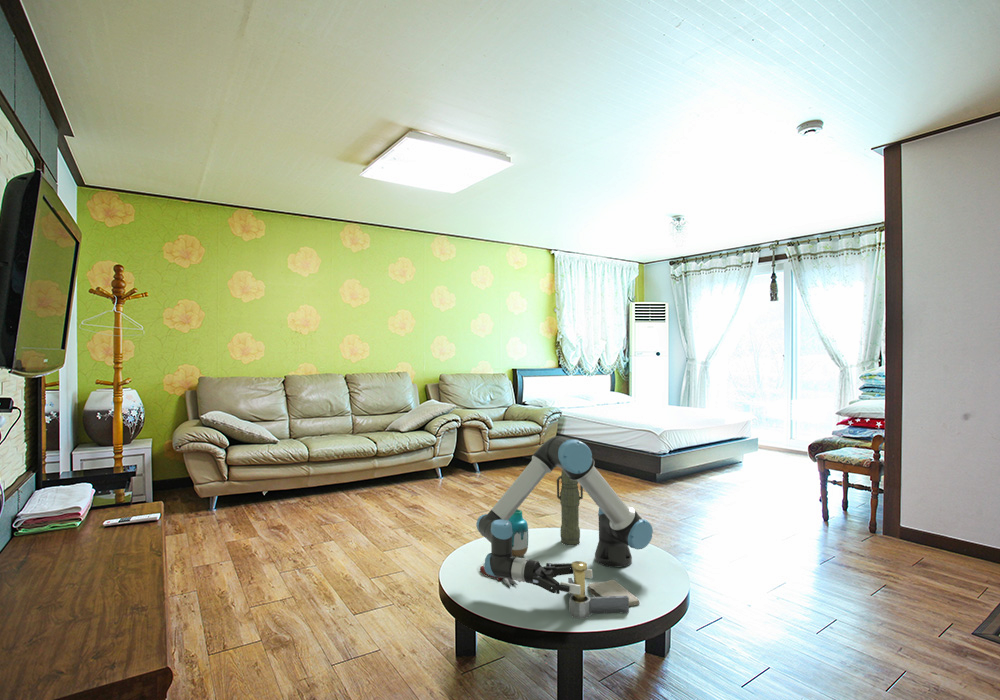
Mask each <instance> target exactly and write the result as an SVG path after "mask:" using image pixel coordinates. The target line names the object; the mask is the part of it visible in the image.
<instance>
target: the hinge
mask: <svg viewBox="0 0 1000 700" xmlns="http://www.w3.org/2000/svg"><path fill="white" fill-rule="evenodd" d="M567 580H568V581H567V583H571V584H574V579H573V578H572V577H568V579H567ZM568 594H569V595H570V596H569V598H568V602H569V603H568V607H569V608H568V611H569V612H568V613H569V615H570V616H571V617H572V616H573V618H574V617H575V619H579V620H582V619H587V618H590V617H591V615H598V614H621V613H620V612H623V613H627V612H628V613H630V606H629V597H628V596H605V597H595V596H588V595H587V594H585V602H577V601H574V594H573V593H568ZM623 613H622V614H623Z"/></svg>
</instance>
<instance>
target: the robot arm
mask: <svg viewBox="0 0 1000 700" xmlns="http://www.w3.org/2000/svg"><path fill="white" fill-rule="evenodd" d="M592 453H593V452H592V450H591V449H590V447H589V446H588V445H587V444H586V443H585V442H582V441H580V440H579V439H572V438H570V437H565V436H562V435H556V436H553V437H550V438H549V439H547V440H546V441H544V443H542V444H541V445H540V447H539V448H537V449H536V450H535V452H534V453H533V454H532V456H531V461H530V462H529V463H528V465H526V467H525V468H524V469H523V471H522V472H521V473H520V474H519V476H518V477H517V478H515V480H514V481H513V483H512V484H511V485H509V486H510V487H508V488H507V490H506V491H505V492H504V494H503V495H502V496H501V498H500V499H499V500H498V501H497V502H496V503H495V505H494V506H493V507H492V508H491V509H490V510H489V512H488V513H485V514H481V515H480V516H478V518H477V521H476V529H477V531H478V533H480V535H481V536H482V537H484V538H485V539H486V540H487V541H488V542H490V544H491V545H490V546H491V549H490V550H491V552H489V553H487V555H485V558H484V564H483V567H484V569H485V572H486V573H487V574H488V575H491V576H495V577H498V578H499V577H500V578H506V579H511V580H514V581H515V582H516V581H517V583H521V582H523V583H527V584H531V585H533V586H538V587H540V588H541V589H544V590H546V591H548V592H550V593H551V594H556V595H559V594H560V592H564V593H568V594H569V593H573V594H578V595H580V594H581V591H580V585H576V584H571V583H568V582H565V581H560V582H559V581H557V579H555V578H557V577H558V576H566V575H567V576H568V575H573V576H574V570H573V569H572V562H571V563H567V562H566V563H565V562H564V563H550V562H546V563H545V566H542V565H541V563H540V561H538V560H535V559H528V558H523V557H513V556H512V534H513V531H512V524H511V522H510V521H508V520H509V518H510V517H511V516H512V515H513V514H514V512H515V511H516V510H517V509H518V510H519V508H520V506H521V505H522V504H523V503H524V501H525V500H526V499H527V498H528V497H529V496H530V494H531V493H532V491H534V489H535V488H536V487H537V485H538V484H539V483H540V482H541V481H542V479H543V478H544V477H545V475H547V474H549V473H551V472H552V471H553V470H554V469H555V468H557V467H558V468H560V469H561V471H562V470H563V471H564V472H565V473H566V474H567V476H568V477H569V478H570V479H571V480H577V481H578V484H579V485H581V486H582V487H583V490H584V491H585V492H586V493H587V495H588V496H589V497H590V498H591V499H592V501H593V502H594V503H595V504H596V505H597V506H598V514H597V516H598V542H597V545H596V550H595V552H594V560H595V562H596V563H597V564H599V565H602V566H605V567H609V566H610V568H611V567H613V568H622V567H627V566H629V565H631V564H632V563H633V559H632V558H633V557H632V553H631V550H630V548H632V549H633V550H643V549H644V548H646V547H648V545H649V544H650V543H651V541H652V539H653V533H654V530H653V526H652V524H651V523H650V522H649V521H648V520H647V519H645V518H642V517H641V516H640V514H638V512H637V511H636V510H635V508H634V507H633V506H631V505H626V504H625V503H624V501H623V500H622V498H621V497H620V496H619V495H618V494H617V492H616V491H615V490H614V489H613V488H612V486H611V485H610V484H609V482H608V481H607V480H606V479H605V478H604V477H603V476H602V474H601V472H599V470H598V469H597V468H596V467H595V459H594V458H593V454H592ZM586 578H587V579H593V569H590V568H587V570H585V579H586Z"/></svg>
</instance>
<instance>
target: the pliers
mask: <svg viewBox="0 0 1000 700" xmlns="http://www.w3.org/2000/svg"><path fill="white" fill-rule="evenodd" d="M479 571H480V573H482V575H484V576H486V577H490V578H492V579H496V580H497V581H498V582H501V581H503V583H505V584H506V585H507V586H508V587H510V588H511V587H512V585H516V586H518V585H519V584H518V582H516V580H511V579H506V578H500V577H499V578H498V577H495V576H491V575H488V574H487V573H486V572H485V569H484V565H482V566H480V568H479ZM511 584H512V585H511Z"/></svg>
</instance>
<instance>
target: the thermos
mask: <svg viewBox="0 0 1000 700" xmlns="http://www.w3.org/2000/svg"><path fill="white" fill-rule="evenodd" d="M560 480H561V490H560ZM578 484H579V483H578V481H577V480H571V479H570V478H569V477H568V476H567V474H566V473H565V472H564V471H563V470H562V469H561V475H560V476H558V477H557V479H556V492H557V493H556V497H557V499H558V500H559V501H560V502H559V503H560V506H561V512H560V513H561V525H560V543H561V544H562V543H563V544H562V545H564V544H565V546H568V545H574V546H577V544H578V545H580V544H579V543H581V542H580V538H581V529H580V526H579V524H580V523H579V522H580V520H579V519H580V518H579V517H580V516H579V510H580V509H579V508H580V507H579V506H580V503H581V502H580V501H581V500H583V499H584V498H583V497H584V491H583V490H584V489H583V487H582V486H581V485H580V484H579V485H580V489H579V485H578Z"/></svg>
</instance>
